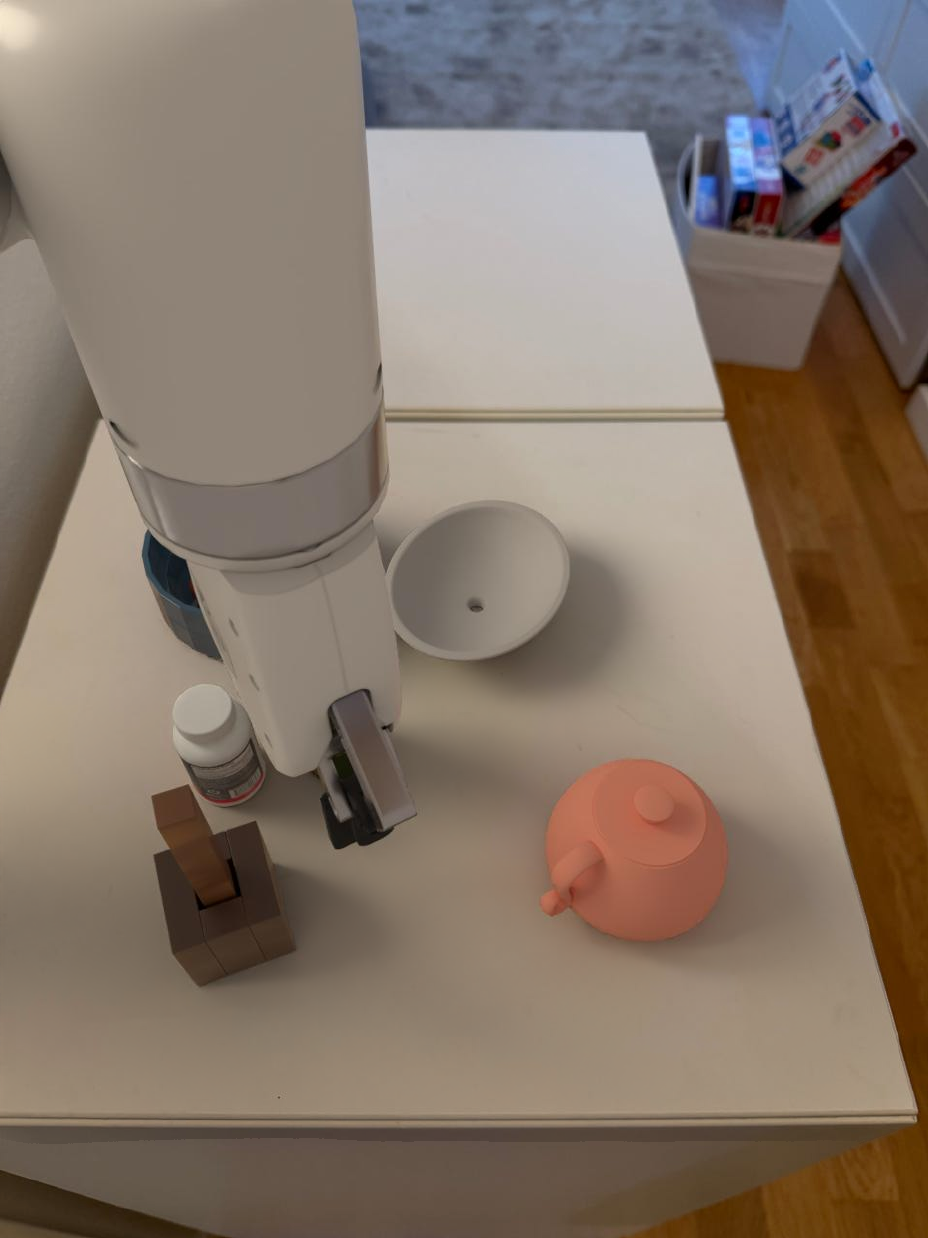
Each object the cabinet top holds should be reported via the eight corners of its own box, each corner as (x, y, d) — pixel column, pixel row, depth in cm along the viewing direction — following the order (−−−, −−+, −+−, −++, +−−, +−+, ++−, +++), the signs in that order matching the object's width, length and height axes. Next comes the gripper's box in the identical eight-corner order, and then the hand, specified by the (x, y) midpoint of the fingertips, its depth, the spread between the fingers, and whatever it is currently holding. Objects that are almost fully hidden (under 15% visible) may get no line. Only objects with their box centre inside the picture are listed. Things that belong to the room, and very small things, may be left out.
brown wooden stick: (225, 941, 62) (157, 829, 47) (218, 913, 63) (150, 795, 49) (254, 930, 62) (196, 816, 48) (247, 903, 63) (188, 783, 49)
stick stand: (197, 987, 60) (171, 953, 54) (178, 894, 64) (152, 854, 58) (296, 950, 62) (281, 914, 56) (272, 862, 65) (255, 819, 60)
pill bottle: (194, 749, 70) (162, 679, 63) (265, 739, 71) (242, 668, 63) (194, 814, 67) (160, 748, 59) (268, 803, 68) (244, 737, 60)
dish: (501, 725, 72) (505, 691, 68) (348, 650, 76) (343, 613, 72) (596, 575, 81) (604, 537, 77) (455, 515, 86) (455, 476, 82)
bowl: (181, 689, 74) (161, 642, 69) (148, 547, 83) (127, 496, 78) (372, 633, 77) (367, 584, 72) (320, 502, 86) (312, 450, 81)
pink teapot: (752, 892, 64) (796, 831, 56) (592, 1003, 60) (614, 955, 52) (642, 759, 70) (667, 686, 62) (489, 850, 66) (494, 785, 58)
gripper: (53, 317, 30) (176, 628, 44) (236, 724, 21) (319, 956, 35) (270, 258, 32) (323, 571, 46) (520, 603, 23) (493, 866, 37)
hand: (321, 737), depth 40 cm, fingers open, 9 cm apart
